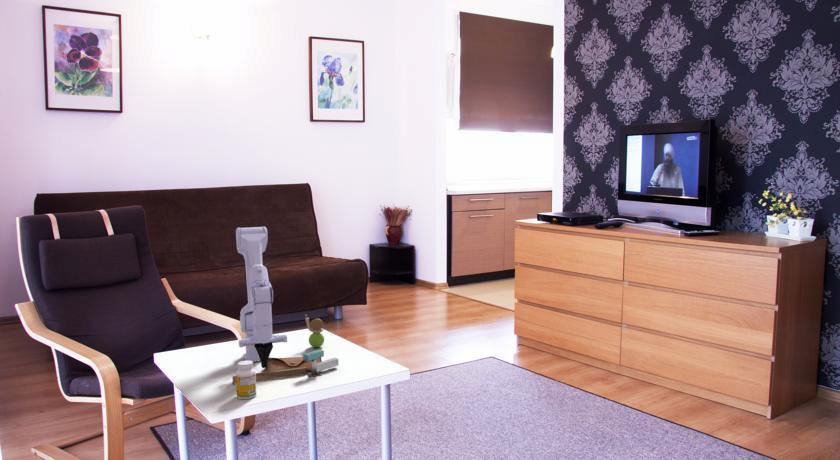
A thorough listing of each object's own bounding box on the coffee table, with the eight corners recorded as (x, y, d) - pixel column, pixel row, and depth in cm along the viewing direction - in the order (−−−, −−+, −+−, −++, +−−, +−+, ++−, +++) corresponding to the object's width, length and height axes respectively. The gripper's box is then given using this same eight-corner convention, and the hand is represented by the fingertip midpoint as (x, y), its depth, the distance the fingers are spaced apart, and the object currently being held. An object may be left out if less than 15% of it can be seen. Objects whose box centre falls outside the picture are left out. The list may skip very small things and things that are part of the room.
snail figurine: (306, 345, 238) (305, 312, 237) (324, 345, 239) (323, 312, 238) (305, 349, 233) (304, 316, 232) (324, 349, 234) (323, 315, 233)
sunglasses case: (263, 376, 204) (263, 354, 207) (265, 381, 211) (265, 360, 213) (323, 372, 208) (322, 351, 210) (322, 377, 214) (321, 357, 217)
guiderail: (232, 382, 198) (232, 376, 198) (305, 373, 207) (305, 366, 207) (233, 384, 197) (233, 377, 197) (306, 374, 206) (306, 367, 206)
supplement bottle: (238, 393, 189) (237, 360, 188) (257, 392, 190) (256, 359, 189) (235, 400, 184) (233, 365, 183) (254, 399, 184) (253, 364, 183)
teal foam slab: (334, 364, 213) (333, 345, 212) (338, 366, 212) (338, 346, 211) (303, 374, 204) (302, 354, 203) (308, 375, 202) (307, 355, 202)
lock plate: (306, 373, 206) (306, 372, 206) (318, 372, 208) (318, 371, 208) (309, 377, 203) (309, 376, 203) (321, 375, 204) (321, 374, 204)
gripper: (240, 329, 200) (242, 373, 202) (288, 324, 206) (290, 367, 207) (237, 324, 207) (238, 367, 208) (283, 319, 212) (285, 361, 214)
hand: (264, 366), depth 208 cm, fingers closed
